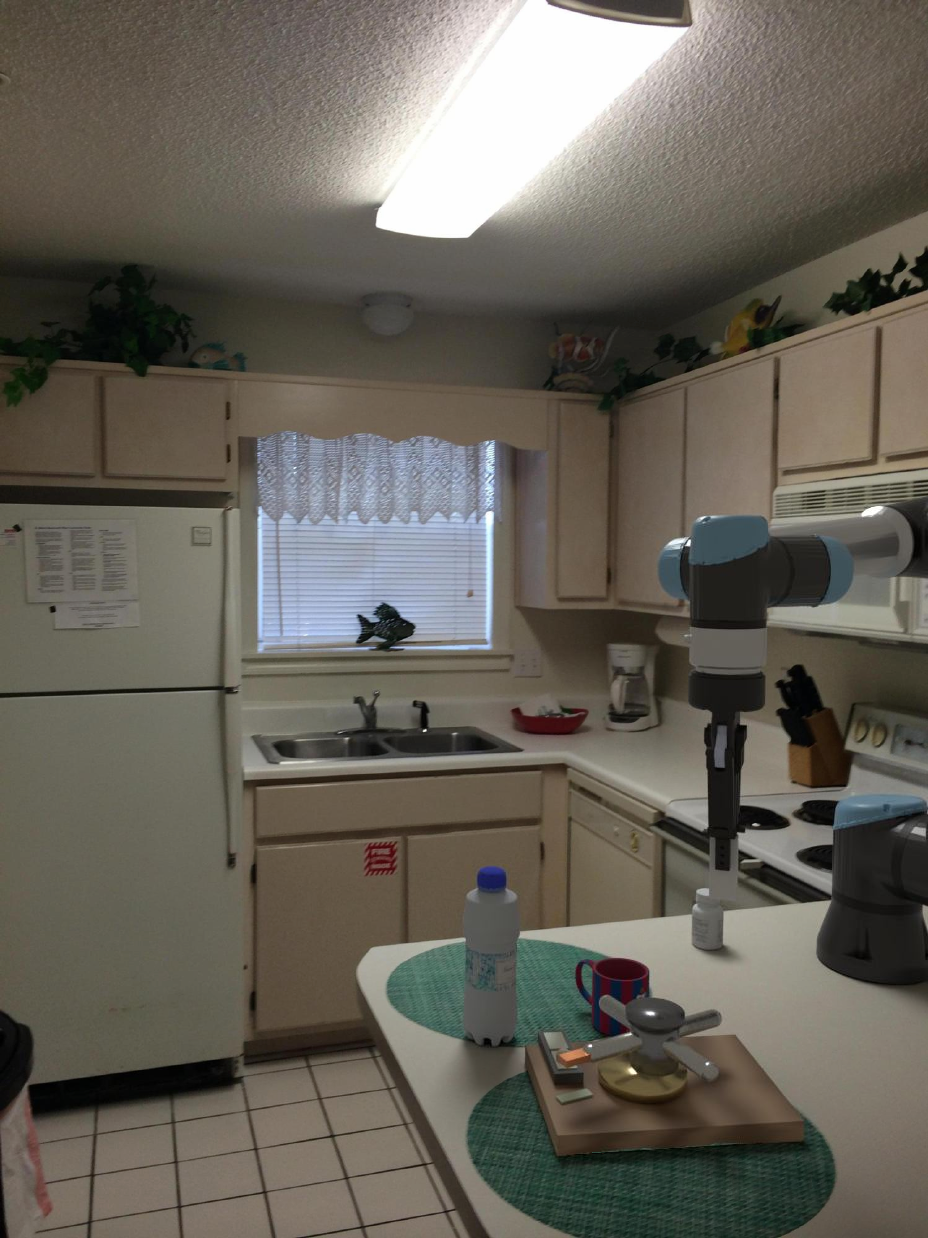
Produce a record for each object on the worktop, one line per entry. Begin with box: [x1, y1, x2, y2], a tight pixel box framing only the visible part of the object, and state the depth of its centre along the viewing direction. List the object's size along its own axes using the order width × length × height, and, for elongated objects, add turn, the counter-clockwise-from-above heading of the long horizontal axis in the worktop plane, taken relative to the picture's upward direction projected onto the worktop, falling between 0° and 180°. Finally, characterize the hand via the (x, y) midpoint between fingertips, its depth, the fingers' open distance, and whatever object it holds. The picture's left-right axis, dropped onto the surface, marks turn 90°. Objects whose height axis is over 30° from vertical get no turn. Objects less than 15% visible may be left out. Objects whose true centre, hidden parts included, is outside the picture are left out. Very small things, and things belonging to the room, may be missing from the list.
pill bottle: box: [691, 887, 725, 951], centre depth 141 cm, size 4×4×8 cm
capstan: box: [558, 995, 723, 1103], centre depth 100 cm, size 18×20×7 cm
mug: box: [574, 957, 651, 1037], centre depth 118 cm, size 7×10×7 cm
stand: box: [524, 1029, 805, 1157], centre depth 101 cm, size 24×18×4 cm
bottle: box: [461, 865, 522, 1047], centre depth 113 cm, size 7×7×20 cm
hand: (723, 897), depth 101 cm, fingers closed
